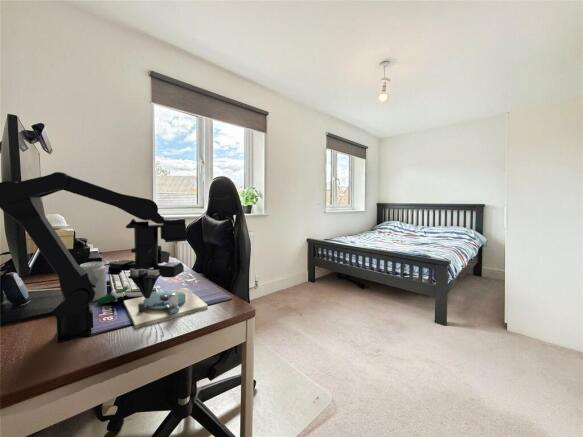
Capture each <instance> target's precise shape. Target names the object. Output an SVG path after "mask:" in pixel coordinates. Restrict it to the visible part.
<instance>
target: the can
mask: <svg viewBox="0 0 583 437" xmlns="http://www.w3.org/2000/svg"><path fill="white" fill-rule="evenodd" d="M79 266H80V267H81V268H83V269H84V270H87V269H88V268H90V267H91V268H92V270H93V272H94V274H95V276H96V277H97V278H99V281H98V284H99V287H98V290H97V292H96V295H95V297H94V299H93V300H92V301H91V302H95V301H98V299H99V298H101V297H103V296H106V295H108V294H107V293H108V292H107V291H108V290H107V269H106V268H107V267H106V266H105V265H104V262H103V261H89V262H84V263H81V264H80V265H79ZM91 302H90V303H91Z"/></svg>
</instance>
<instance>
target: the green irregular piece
mask: <svg viewBox="0 0 583 437" xmlns="http://www.w3.org/2000/svg"><path fill="white" fill-rule="evenodd" d="M130 288H132V286H130V285H129V284H126V285H125V286H124V288H120V289H119V290H116V291H115V290H111V292H109V294H106V295H105V296H103V297H101V298H99V299H98V300H96V301H97V304H98V305H99V304H101V305H102V304H107V303H110V302H114V303H116V302H118V299H116V298H115V296H116V295H117V294H118V293H121V292H124V291H126V290H127V289H130Z"/></svg>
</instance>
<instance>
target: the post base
mask: <svg viewBox="0 0 583 437" xmlns="http://www.w3.org/2000/svg"><path fill="white" fill-rule="evenodd" d="M171 291H179V292H183V293H184V294H185V295H186V300H185V302H184V303H182V304H181V305H179V306H178V307H179V312H175V313H171V314H170V313H169V312H168V310H167V309H164V310H149V309H146V308H145V303H143V301H144V299H145V297H144V296H140V297H135V298H131V299H125V300H123V305H124V307H125V309H126V311H127V314H128V315H129V317H130V319H132V320H131V321H133V322H132V323H133V325H134V327H135V329H138V328H142V327H147V326H149V325H152V324H153V325H154V324H156V323H160V322H163V321H168V320H171V319H175V318H177V317H180V316H185V315H188V314H191V313H195V312H199V311H202V310H205V309H208V304H207V303H206V302H204V301H203V299H201V298H199V297H198V296H197V295H196V294H195V293H194V292H192V290H190V289H189V288H187V287H183V288H182V287H181V288H178V289H172V290H171Z"/></svg>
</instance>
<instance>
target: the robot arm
mask: <svg viewBox="0 0 583 437" xmlns="http://www.w3.org/2000/svg"><path fill="white" fill-rule="evenodd" d="M60 191H65V192H69V193H72V194H75V195H77V196H81V197H84V198H87V199H91V200H94V201H97V202H100V203H104V204H107V205H110V206H112V207H116V208H118V209H120V210H121V211H124V212H125V213H127V214H129V215H131V216H133V217H136V218H137V219H139V220H141V221H137V220H135V218H132V219H131V220H130V221H129V223H126V225H125V228H126V229H133V237H134V239H133V240H134V242H133V244H134V247H133V248H131V249H130V251H131V253H133V254H134V260H133V259H132V260H131V259H121V260H118V261H115V262H112V263H110V264H109V265H108V268H107V269H108V270H107V271H108V272H107V274H108V275H115V276H118V275H120V274H122V272H123V271H128V272H129V273H130V274H129V275H128V276H127V277H128V279H131V280H132V282H133V283H134V284H135V285H136V286H137V288H138V289H139V292H140V293H141V294H142V297H145V298H147V299H148V298H150V296H151V295H152V294H153V291H154V287H155V284H156V282H157V281H158V279H159V277H161V278H175V277H177V276H178V275H180V274H182V273H184V270H185V268H184V264H183V262H179V261H178V262H177V261H170V257H171V252H169V251H166V250H162V246H161V245H159V237H160V240H163V241H164V243H177V242H178V243H179V242H182V243H183V242H186V241H187V239H188V230H187V224H186V219H185V218H177V219H176V218H175V219H166V218H164V216H163V215H161V214H160V213H159V208H158V205H157V202H155V201H154V200H152V199H150V198H147V197H140V196H135V195H132V194H131V195H130V194H126V193H125V194H123V193H121V192H118V191H115V190H112V189H110V188H107V187H103V186H100V185H98V184H94V183H92V182H89V181H87V180H86V181H85V180H82V179H80V178H78V177H77V178H76V177H74V176H72V175H70V174H68V173H65V172H60V171H55V172H53V173H50V174H47V175H43V176H39V177H35V178H29V179H26V180H21V181H13V180H12V181H10V180H8V181H7V180H5V181H1V182H0V210H1V211H3V212H4V213H5V214H6V215H7V216H9V217H11V218H12V219H13V220H15V221H16V222H17V223H19V224H20V225H21V226H22V228H23V229H24V230H25V232H26V234H27V235H28V236H29V238H30V239H31V241H32V242H33V243H34V245H35V246H36V247H37V248H38V250H39V252H40V253H41V255H42V257H43V258H44V259H45V260H46V261H47V263H48V264H49V265H50V267H51V269H52V270H53V271H54V273H55V275H57V278H58V284H59V288H60V289H59V290H60V291H61V294H62V297H61V299H60V300H59V301H58V303H57V304H56V306H55V307H54V308H53V309H52V311H51V312H52V313H53V315H54V317H55V318H56V340H55V341H56V343H61V342H65V341H69V340H71V339H78V338H79V337H84V336H87V335H91V334H92V329H94V312H93V309H91V308H90V303H91V301H92V300H93V299H94V297H95V295H96V292H97V290H98V287H99V284H98V281H99V278H97V277H96V276H95V274H94V272H93V270H92V268H91V267H90V268H88V269H87V270H84V269H83V268H81V267H80V265H79V264H78V263H77V261H76V259H75V258H74V256H73V255H72V254H71V252H70V251H69V249H68V248H67V246H66V244H65V243H64V242H63V240H62V239H61V237H60V236H59V234H58V232H56V230H55V228H54V227H53V225H52V224H51V223H50V222H49V219H48V217H47V216H46V214H45V208H44V204H43V200H42V199H41V198H43V197H46V196H49V195H52V194H55V193H58V192H60ZM149 220H150V221H151V222H153V223H154V224H149ZM155 223H156V224H155ZM159 228H160V231H159ZM159 233H160V236H159ZM163 263H165V264H163ZM162 264H163V265H162ZM92 302H93V301H92Z"/></svg>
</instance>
